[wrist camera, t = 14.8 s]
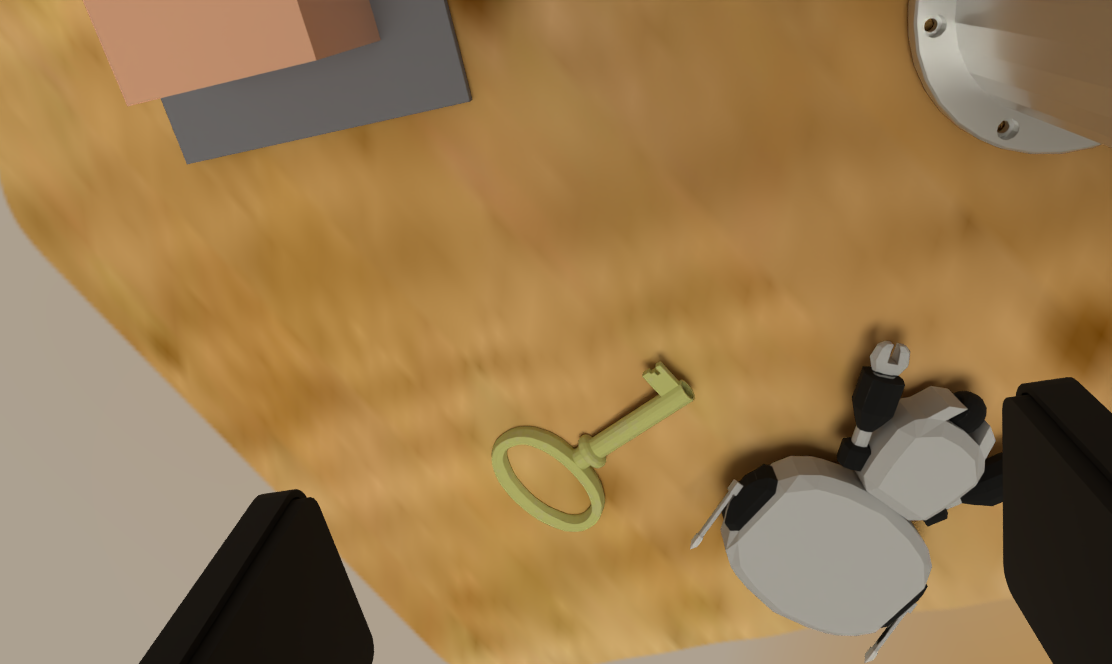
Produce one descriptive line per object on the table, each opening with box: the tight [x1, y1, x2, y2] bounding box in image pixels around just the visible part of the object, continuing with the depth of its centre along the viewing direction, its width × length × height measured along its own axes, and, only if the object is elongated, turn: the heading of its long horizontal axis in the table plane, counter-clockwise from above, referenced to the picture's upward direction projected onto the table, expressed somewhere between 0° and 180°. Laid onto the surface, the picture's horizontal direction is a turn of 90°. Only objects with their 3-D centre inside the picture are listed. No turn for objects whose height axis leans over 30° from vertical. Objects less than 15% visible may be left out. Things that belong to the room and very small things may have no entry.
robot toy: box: [690, 341, 1003, 663], centre depth 42 cm, size 12×4×15 cm
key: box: [492, 361, 695, 532], centre depth 43 cm, size 7×12×2 cm, turn 150°
